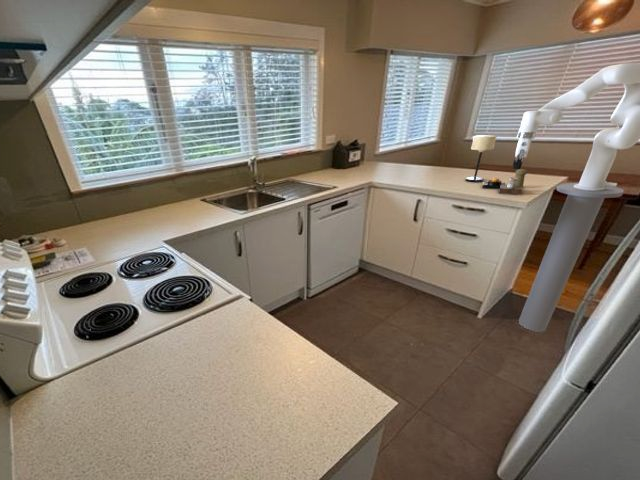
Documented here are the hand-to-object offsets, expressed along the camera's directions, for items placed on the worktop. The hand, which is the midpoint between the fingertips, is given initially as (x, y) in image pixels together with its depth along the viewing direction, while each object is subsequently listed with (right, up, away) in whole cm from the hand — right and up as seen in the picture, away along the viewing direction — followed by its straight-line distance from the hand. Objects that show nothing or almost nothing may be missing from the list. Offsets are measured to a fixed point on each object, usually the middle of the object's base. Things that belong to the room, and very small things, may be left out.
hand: (516, 167), depth 170 cm
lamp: (+2, +1, +35) cm, 35 cm away
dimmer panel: (+1, -13, +6) cm, 14 cm away
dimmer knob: (+1, -10, +5) cm, 11 cm away
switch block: (+1, -7, +18) cm, 19 cm away
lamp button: (+1, -4, +16) cm, 17 cm away
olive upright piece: (+12, -9, +13) cm, 20 cm away
